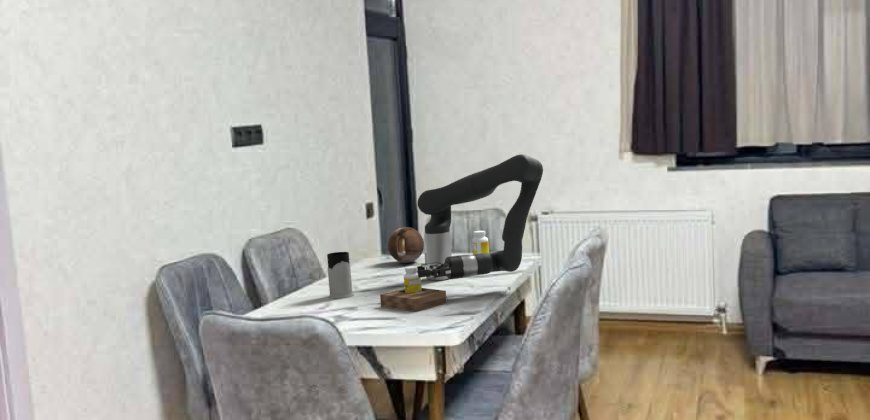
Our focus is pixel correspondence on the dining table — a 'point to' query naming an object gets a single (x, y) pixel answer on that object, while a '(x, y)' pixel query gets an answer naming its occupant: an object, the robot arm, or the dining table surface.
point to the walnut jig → (413, 299)
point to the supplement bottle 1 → (412, 280)
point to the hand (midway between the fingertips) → (414, 272)
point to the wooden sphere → (405, 245)
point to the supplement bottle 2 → (480, 243)
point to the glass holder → (339, 275)
